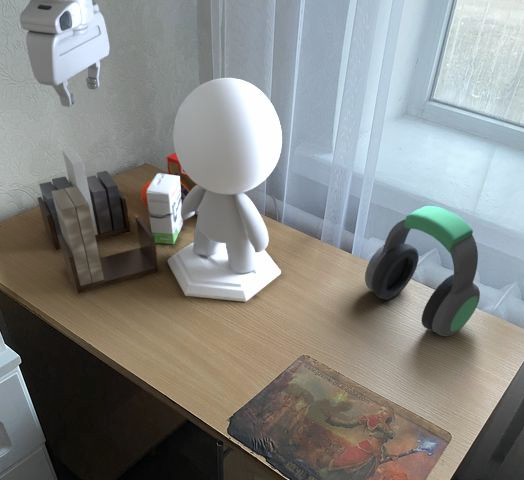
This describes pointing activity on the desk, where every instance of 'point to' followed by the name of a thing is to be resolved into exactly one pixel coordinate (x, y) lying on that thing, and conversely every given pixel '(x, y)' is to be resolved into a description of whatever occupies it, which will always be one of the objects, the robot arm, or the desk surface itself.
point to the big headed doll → (225, 188)
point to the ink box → (165, 208)
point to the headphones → (406, 259)
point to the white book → (78, 177)
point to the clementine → (143, 193)
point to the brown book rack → (85, 246)
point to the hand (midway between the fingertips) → (81, 96)
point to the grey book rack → (103, 202)
